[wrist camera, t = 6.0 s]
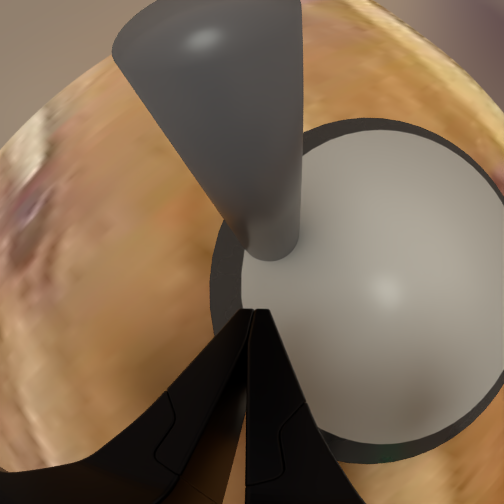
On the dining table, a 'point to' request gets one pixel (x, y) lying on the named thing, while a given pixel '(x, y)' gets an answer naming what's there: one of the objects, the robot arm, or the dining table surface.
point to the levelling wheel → (331, 222)
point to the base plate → (229, 302)
